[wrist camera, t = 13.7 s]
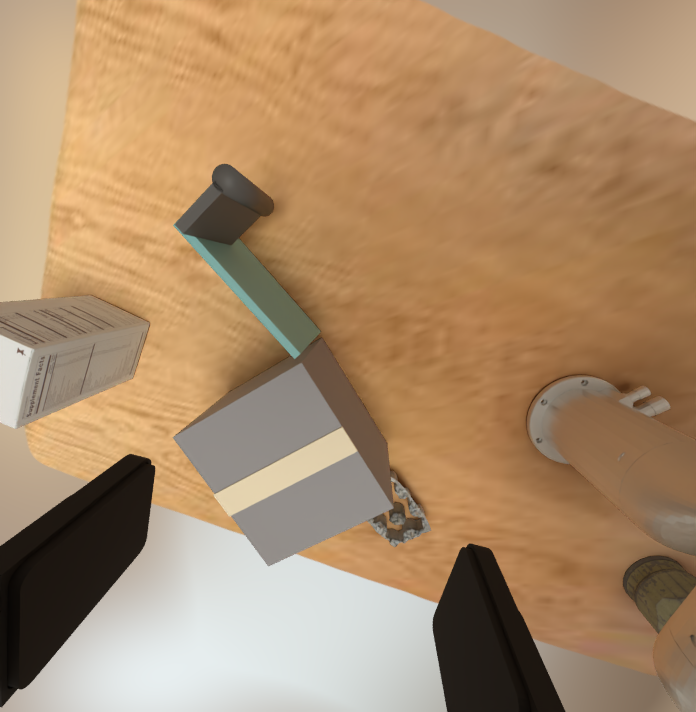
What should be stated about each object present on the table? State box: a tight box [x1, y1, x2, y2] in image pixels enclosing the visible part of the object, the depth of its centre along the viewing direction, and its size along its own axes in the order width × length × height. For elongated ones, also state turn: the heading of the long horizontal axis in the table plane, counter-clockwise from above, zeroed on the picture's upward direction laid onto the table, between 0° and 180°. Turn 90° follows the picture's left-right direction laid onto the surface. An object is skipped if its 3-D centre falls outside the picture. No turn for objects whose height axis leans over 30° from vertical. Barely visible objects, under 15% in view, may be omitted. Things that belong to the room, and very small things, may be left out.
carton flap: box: [173, 164, 321, 359], centre depth 36 cm, size 16×8×16 cm, turn 41°
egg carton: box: [367, 471, 431, 547], centre depth 49 cm, size 11×8×4 cm
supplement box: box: [0, 295, 150, 429], centre depth 39 cm, size 10×9×17 cm
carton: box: [173, 338, 394, 566], centre depth 41 cm, size 16×18×14 cm
